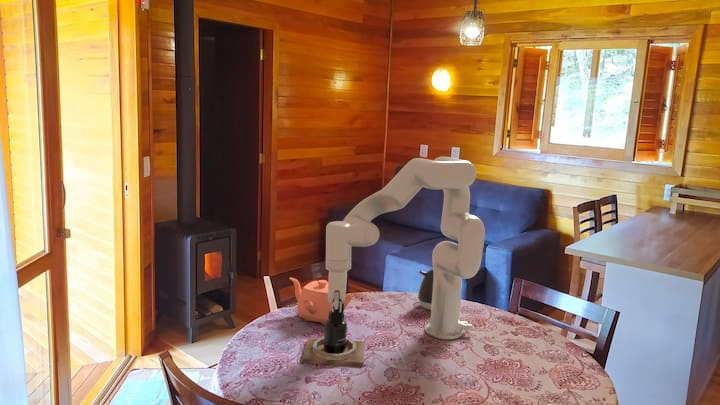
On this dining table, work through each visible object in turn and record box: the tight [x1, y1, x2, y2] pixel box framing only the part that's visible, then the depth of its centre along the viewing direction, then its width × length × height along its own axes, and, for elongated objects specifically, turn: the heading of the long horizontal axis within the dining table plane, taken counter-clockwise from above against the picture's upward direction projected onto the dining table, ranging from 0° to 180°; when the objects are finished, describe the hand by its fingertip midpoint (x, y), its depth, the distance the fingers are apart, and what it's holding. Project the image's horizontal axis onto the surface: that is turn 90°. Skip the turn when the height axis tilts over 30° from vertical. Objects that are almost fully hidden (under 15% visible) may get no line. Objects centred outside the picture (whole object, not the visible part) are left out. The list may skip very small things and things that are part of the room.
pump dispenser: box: [417, 268, 433, 311], centre depth 203 cm, size 10×10×15 cm
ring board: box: [301, 336, 365, 367], centre depth 163 cm, size 18×14×3 cm
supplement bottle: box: [323, 310, 348, 354], centre depth 163 cm, size 7×7×12 cm
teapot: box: [289, 277, 354, 326], centre depth 189 cm, size 18×18×14 cm
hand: (337, 317), depth 162 cm, fingers open, 9 cm apart
